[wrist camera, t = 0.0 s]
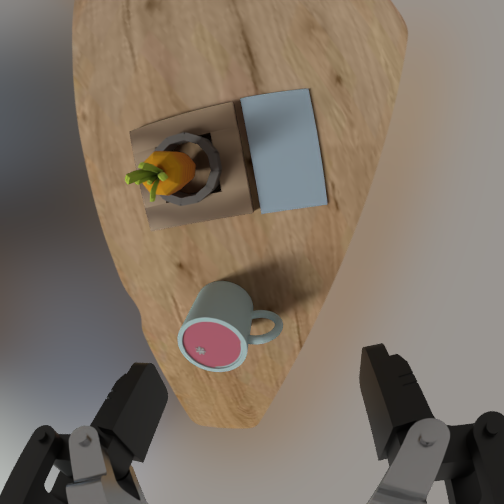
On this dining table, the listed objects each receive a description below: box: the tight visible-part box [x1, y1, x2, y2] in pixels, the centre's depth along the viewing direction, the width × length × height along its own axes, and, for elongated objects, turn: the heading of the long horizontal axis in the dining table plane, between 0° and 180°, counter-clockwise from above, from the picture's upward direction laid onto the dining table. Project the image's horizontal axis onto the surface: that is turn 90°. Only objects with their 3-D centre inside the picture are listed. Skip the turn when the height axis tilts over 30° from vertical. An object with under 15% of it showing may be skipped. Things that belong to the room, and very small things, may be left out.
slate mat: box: [240, 89, 327, 214], centre depth 33 cm, size 16×9×1 cm, turn 10°
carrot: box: [125, 151, 196, 202], centre depth 28 cm, size 5×5×15 cm
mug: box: [178, 281, 283, 372], centre depth 38 cm, size 14×9×10 cm
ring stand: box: [129, 102, 254, 231], centre depth 34 cm, size 15×15×4 cm
